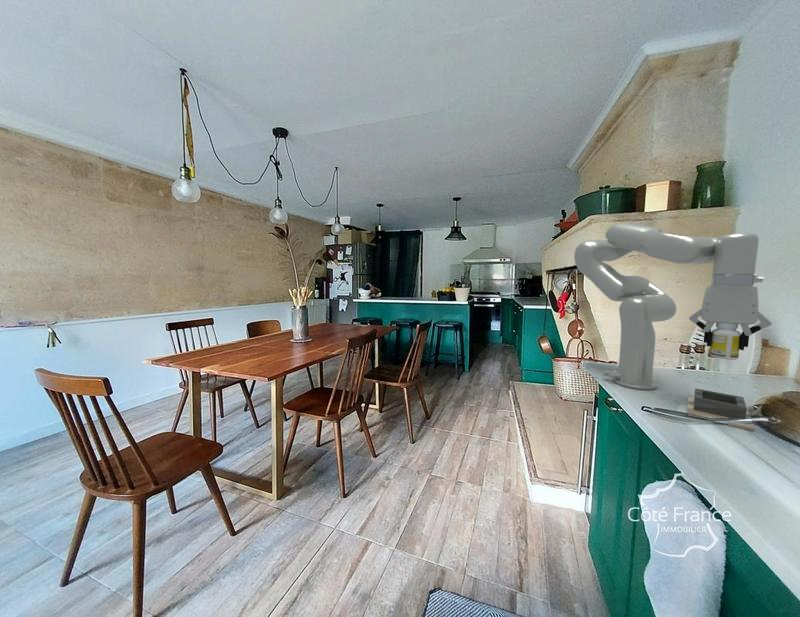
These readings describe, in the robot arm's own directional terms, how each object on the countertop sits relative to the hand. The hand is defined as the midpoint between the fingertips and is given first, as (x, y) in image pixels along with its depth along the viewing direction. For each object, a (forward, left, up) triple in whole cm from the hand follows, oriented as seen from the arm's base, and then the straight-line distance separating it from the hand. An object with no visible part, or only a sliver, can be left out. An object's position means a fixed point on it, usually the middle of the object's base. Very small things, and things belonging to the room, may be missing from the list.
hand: (724, 346), depth 81 cm
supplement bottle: (0, 0, -3) cm, 3 cm away
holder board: (0, 0, -19) cm, 19 cm away
